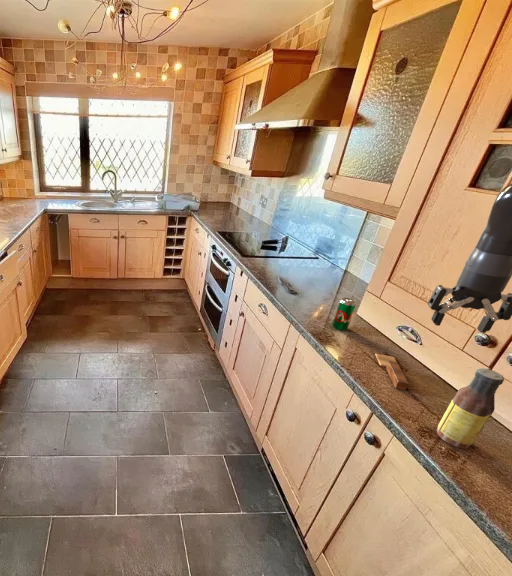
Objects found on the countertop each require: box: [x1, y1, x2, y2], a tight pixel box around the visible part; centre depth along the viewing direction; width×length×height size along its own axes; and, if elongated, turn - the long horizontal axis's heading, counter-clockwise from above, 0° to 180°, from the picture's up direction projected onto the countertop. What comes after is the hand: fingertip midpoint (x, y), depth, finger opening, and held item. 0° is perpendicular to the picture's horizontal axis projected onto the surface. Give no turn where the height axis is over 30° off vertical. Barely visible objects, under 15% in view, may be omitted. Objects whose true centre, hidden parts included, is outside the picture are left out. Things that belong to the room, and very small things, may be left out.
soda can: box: [332, 297, 357, 332], centre depth 115 cm, size 5×5×12 cm
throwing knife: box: [277, 275, 297, 294], centre depth 152 cm, size 4×20×1 cm, turn 176°
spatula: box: [374, 353, 409, 391], centre depth 95 cm, size 16×5×2 cm, turn 157°
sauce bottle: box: [436, 367, 505, 450], centre depth 70 cm, size 7×6×20 cm
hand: (458, 327), depth 78 cm, fingers open, 8 cm apart
